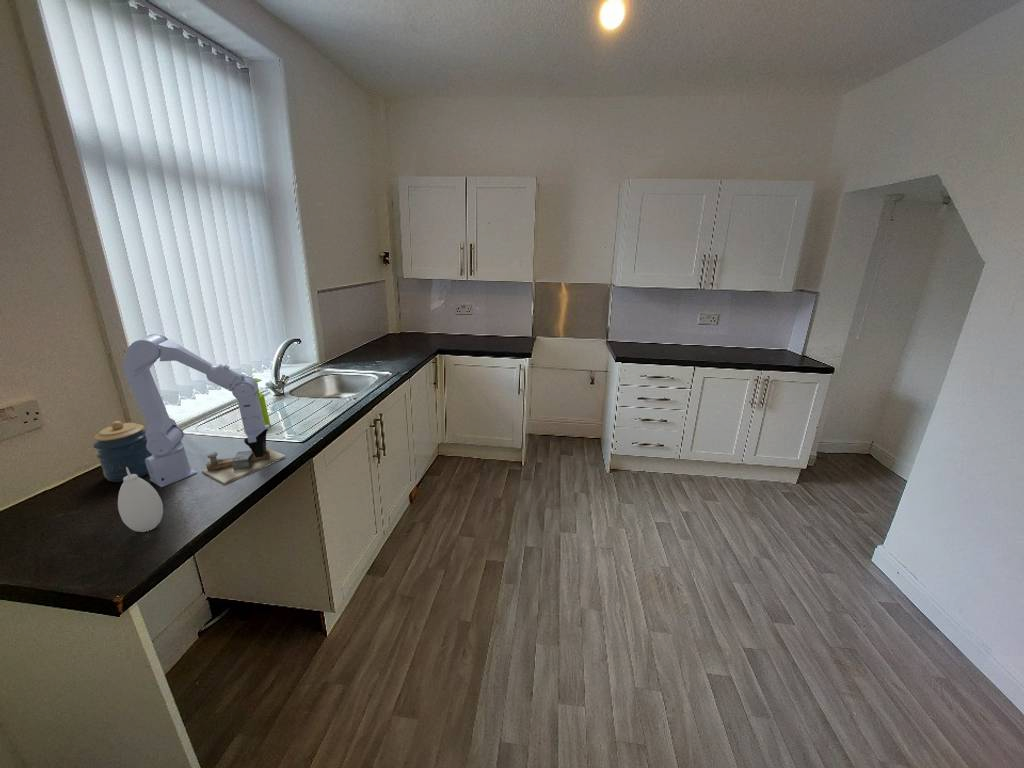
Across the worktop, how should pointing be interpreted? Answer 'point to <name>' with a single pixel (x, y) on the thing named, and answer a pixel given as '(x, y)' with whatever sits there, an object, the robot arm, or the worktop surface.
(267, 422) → the soap dispenser
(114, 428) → the canister
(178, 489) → the worktop surface
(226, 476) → the latch board
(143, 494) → the air blower bulb
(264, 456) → the link
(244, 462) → the keeper
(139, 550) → the worktop surface
